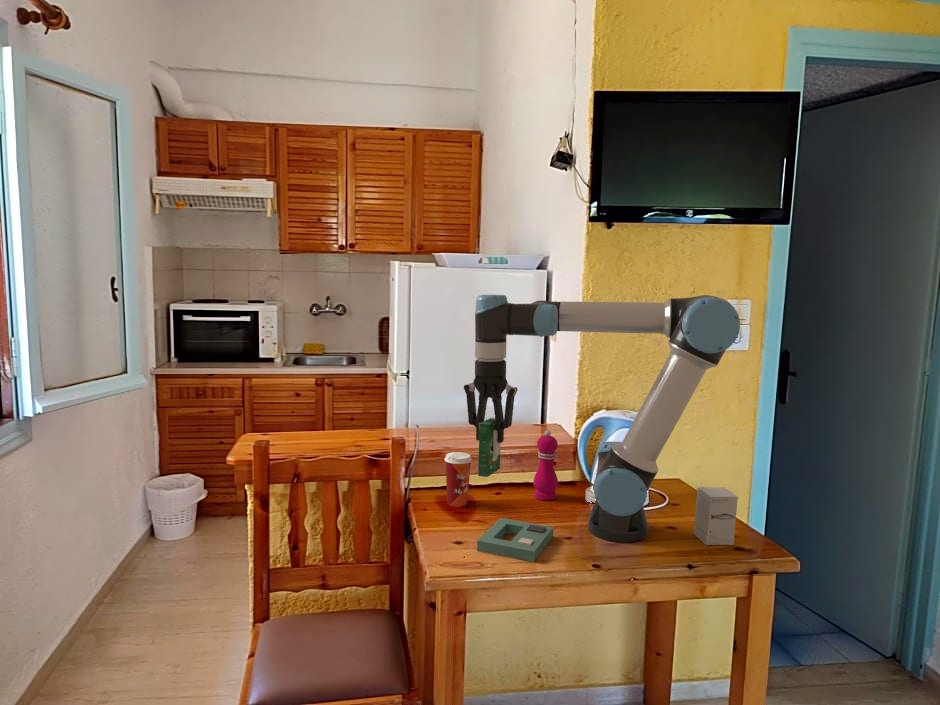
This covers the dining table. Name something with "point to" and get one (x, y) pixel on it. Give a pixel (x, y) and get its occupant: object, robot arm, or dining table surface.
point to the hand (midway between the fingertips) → (489, 454)
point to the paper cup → (457, 478)
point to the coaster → (589, 495)
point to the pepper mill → (546, 468)
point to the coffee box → (487, 449)
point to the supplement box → (715, 515)
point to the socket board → (516, 539)
